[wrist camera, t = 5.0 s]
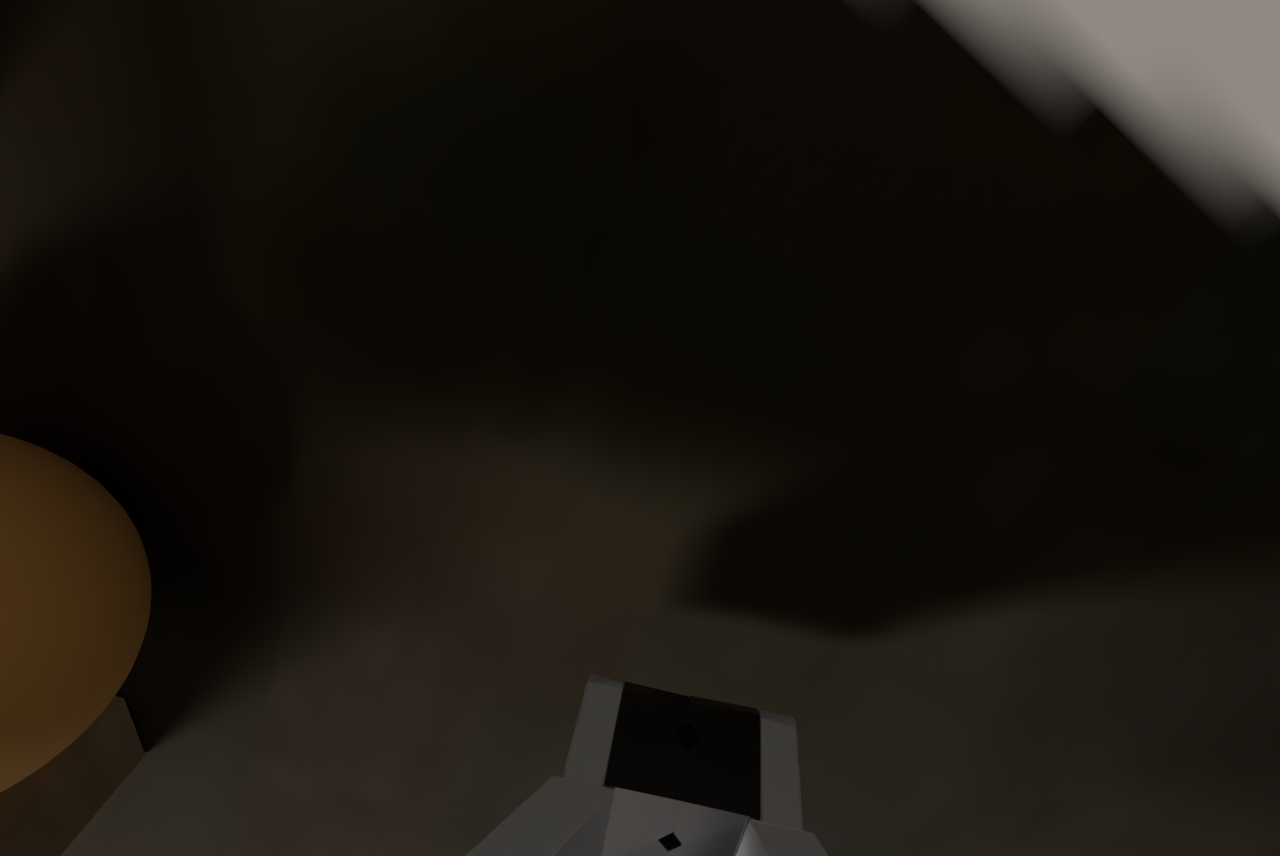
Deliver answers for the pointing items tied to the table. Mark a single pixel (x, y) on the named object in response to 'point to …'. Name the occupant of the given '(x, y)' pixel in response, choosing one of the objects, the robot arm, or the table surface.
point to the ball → (62, 604)
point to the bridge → (69, 786)
